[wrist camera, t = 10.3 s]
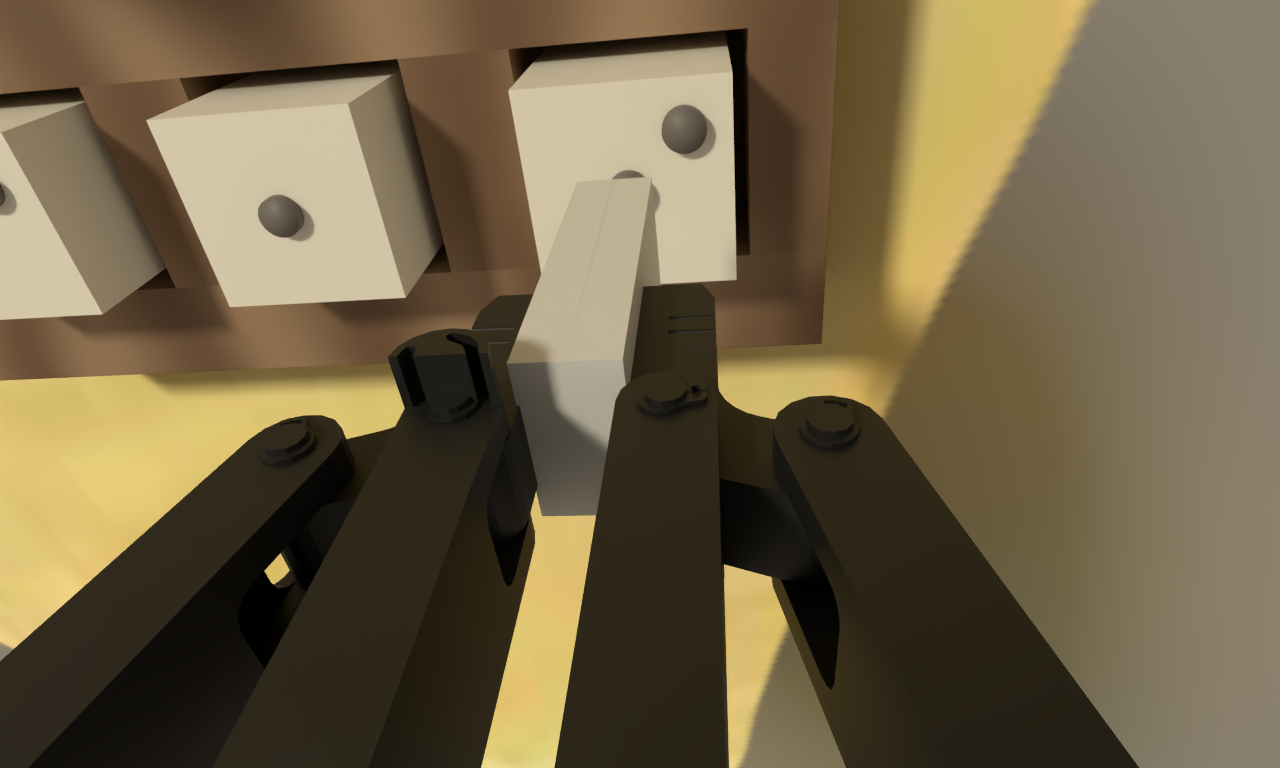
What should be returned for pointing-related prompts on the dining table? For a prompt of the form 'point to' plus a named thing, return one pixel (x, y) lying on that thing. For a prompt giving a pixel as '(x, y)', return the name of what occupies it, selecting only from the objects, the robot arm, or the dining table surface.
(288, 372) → the dining table surface
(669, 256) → the key three
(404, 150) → the cream block
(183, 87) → the keyboard base
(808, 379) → the dining table surface
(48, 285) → the key two
